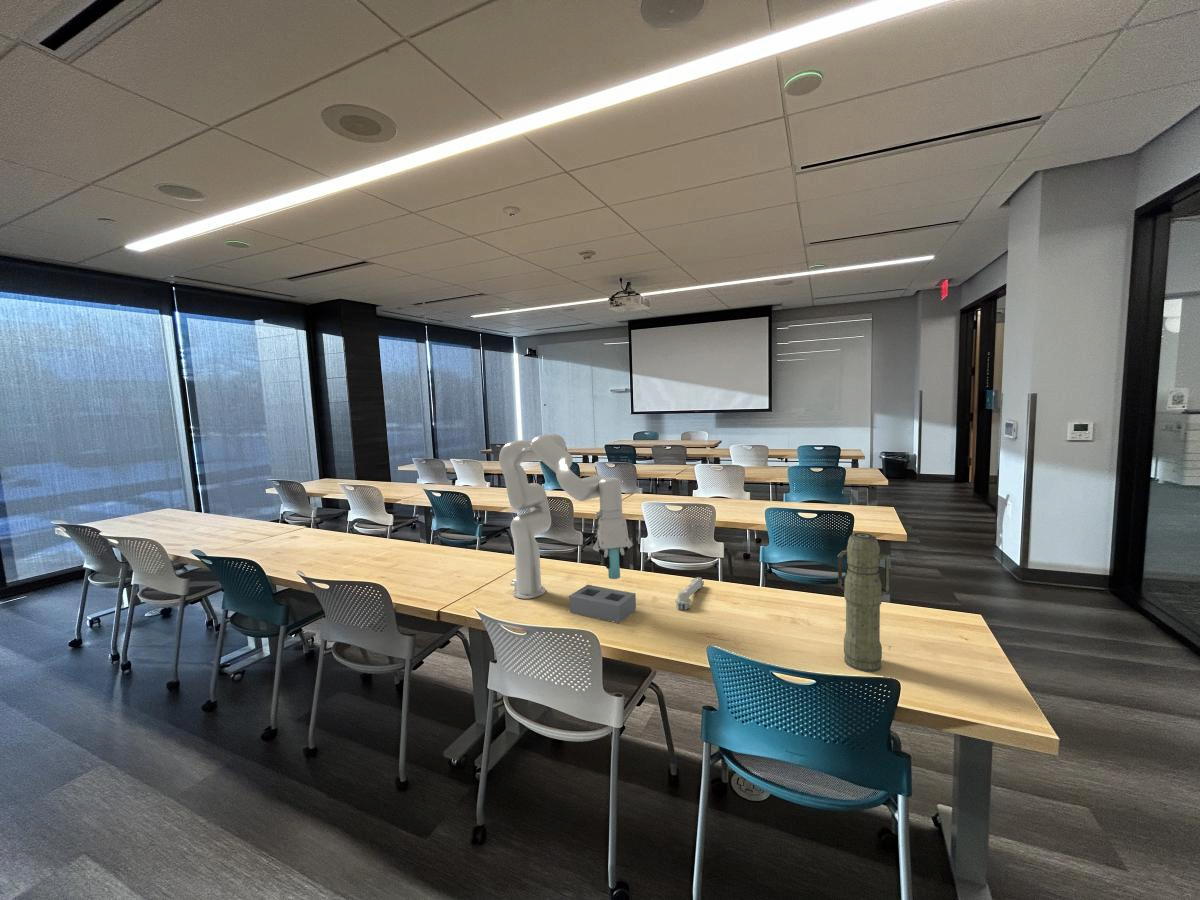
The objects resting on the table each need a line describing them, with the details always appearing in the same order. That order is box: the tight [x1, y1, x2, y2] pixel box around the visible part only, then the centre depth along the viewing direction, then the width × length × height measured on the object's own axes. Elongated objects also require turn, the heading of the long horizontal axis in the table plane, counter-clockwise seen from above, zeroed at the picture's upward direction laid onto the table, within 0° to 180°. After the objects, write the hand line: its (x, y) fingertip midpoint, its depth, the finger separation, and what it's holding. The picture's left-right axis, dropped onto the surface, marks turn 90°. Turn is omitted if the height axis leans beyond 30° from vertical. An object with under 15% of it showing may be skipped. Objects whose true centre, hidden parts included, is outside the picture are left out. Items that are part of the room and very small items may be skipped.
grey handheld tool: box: [675, 576, 705, 611], centre depth 178 cm, size 5×7×25 cm
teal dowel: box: [607, 548, 621, 580], centre depth 165 cm, size 4×4×12 cm
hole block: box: [568, 584, 637, 624], centre depth 169 cm, size 20×12×6 cm, turn 59°
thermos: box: [837, 532, 890, 673], centre depth 128 cm, size 9×12×35 cm
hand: (613, 566), depth 165 cm, fingers closed on teal dowel, 4 cm apart
